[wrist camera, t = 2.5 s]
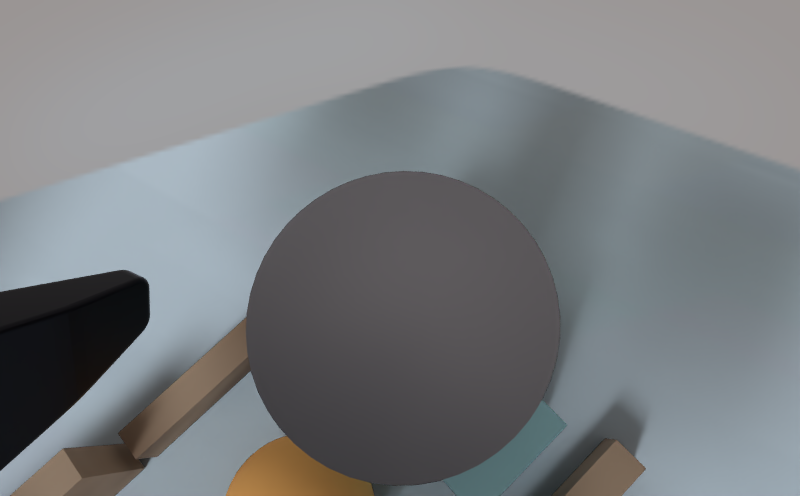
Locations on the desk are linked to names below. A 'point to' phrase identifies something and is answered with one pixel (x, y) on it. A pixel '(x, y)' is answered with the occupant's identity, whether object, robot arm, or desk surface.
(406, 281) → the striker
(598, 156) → the desk surface
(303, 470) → the ball
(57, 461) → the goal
